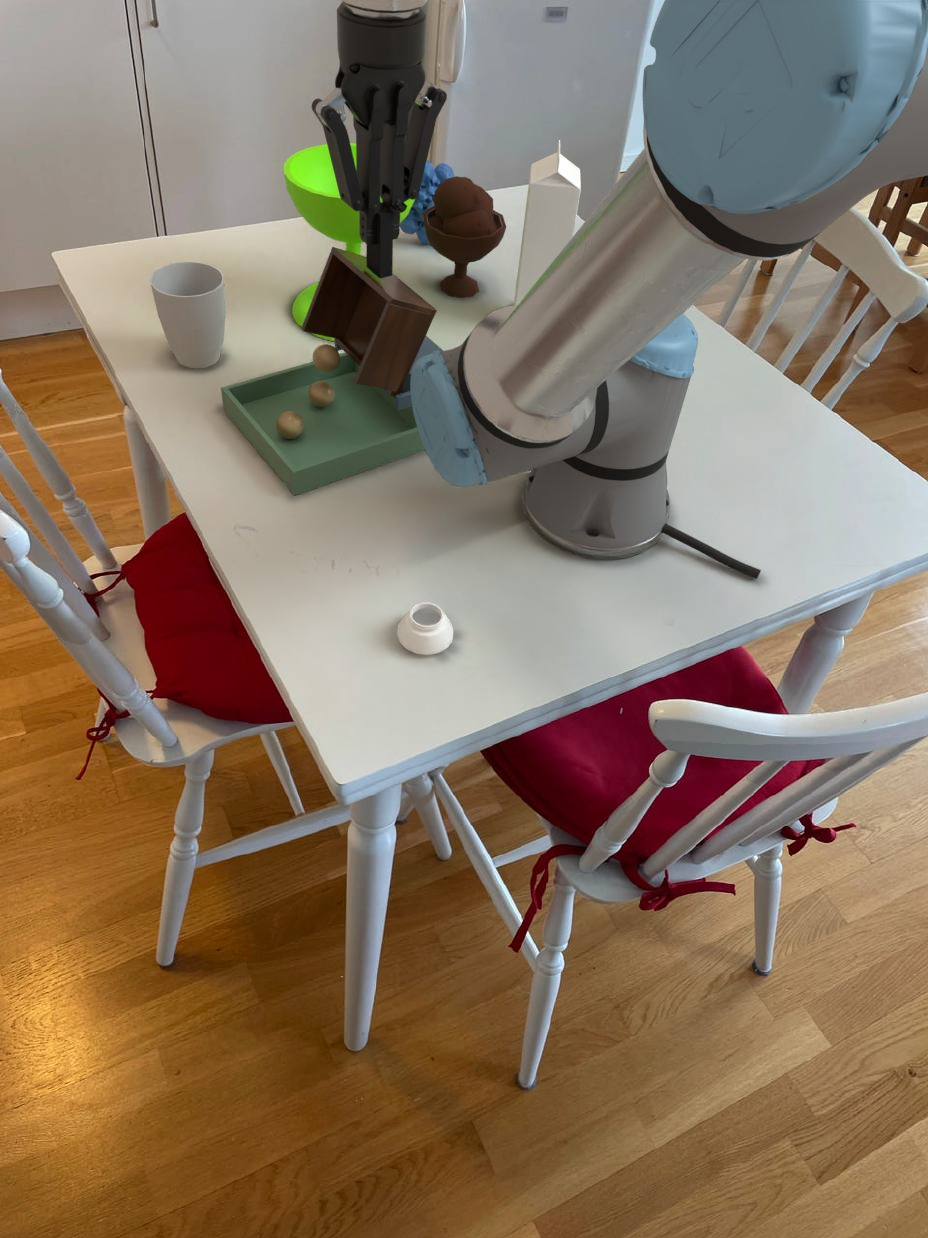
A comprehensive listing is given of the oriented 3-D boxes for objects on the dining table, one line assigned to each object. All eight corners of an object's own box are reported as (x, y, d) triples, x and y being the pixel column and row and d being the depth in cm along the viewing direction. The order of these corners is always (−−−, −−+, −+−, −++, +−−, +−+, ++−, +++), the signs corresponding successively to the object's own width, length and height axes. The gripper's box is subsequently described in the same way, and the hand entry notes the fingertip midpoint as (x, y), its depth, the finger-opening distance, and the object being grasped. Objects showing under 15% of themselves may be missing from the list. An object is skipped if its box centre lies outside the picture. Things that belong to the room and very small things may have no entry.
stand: (471, 423, 110) (476, 373, 105) (396, 448, 106) (398, 398, 101) (408, 364, 117) (409, 315, 112) (335, 386, 113) (334, 336, 108)
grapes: (400, 261, 135) (403, 175, 126) (384, 240, 139) (385, 155, 131) (476, 252, 139) (483, 167, 130) (458, 231, 143) (464, 148, 134)
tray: (434, 447, 106) (435, 424, 104) (294, 495, 99) (293, 472, 97) (356, 371, 115) (356, 348, 113) (223, 410, 108) (220, 387, 106)
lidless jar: (450, 660, 85) (454, 619, 88) (452, 638, 83) (456, 597, 86) (394, 654, 85) (400, 614, 88) (395, 632, 83) (401, 591, 86)
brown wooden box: (440, 310, 98) (392, 298, 93) (399, 400, 102) (352, 392, 98) (379, 260, 104) (332, 245, 99) (344, 347, 109) (297, 337, 104)
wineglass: (266, 316, 122) (254, 173, 109) (338, 269, 132) (335, 132, 119) (371, 357, 118) (372, 212, 105) (437, 304, 128) (445, 166, 115)
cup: (215, 332, 119) (206, 255, 112) (244, 364, 115) (236, 286, 107) (152, 348, 115) (138, 270, 108) (180, 382, 111) (167, 302, 104)
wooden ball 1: (301, 446, 105) (313, 423, 103) (279, 441, 102) (291, 417, 101) (288, 432, 106) (300, 409, 105) (266, 426, 104) (278, 403, 103)
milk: (557, 312, 129) (586, 141, 113) (557, 335, 125) (587, 161, 109) (512, 307, 129) (534, 135, 113) (510, 330, 125) (533, 155, 109)
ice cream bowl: (492, 313, 127) (503, 200, 116) (410, 299, 128) (414, 185, 117) (505, 276, 135) (517, 166, 124) (428, 263, 135) (433, 153, 125)
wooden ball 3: (333, 414, 109) (343, 391, 108) (312, 410, 107) (322, 386, 105) (320, 401, 111) (330, 378, 109) (299, 397, 108) (309, 373, 107)
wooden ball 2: (334, 381, 106) (349, 359, 105) (315, 370, 104) (331, 347, 103) (321, 368, 108) (336, 346, 107) (302, 357, 105) (318, 334, 104)
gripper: (423, -14, 85) (414, 242, 102) (291, -1, 80) (304, 268, 97) (470, 10, 81) (452, 273, 98) (334, 26, 75) (340, 302, 93)
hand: (379, 270), depth 97 cm, fingers closed
